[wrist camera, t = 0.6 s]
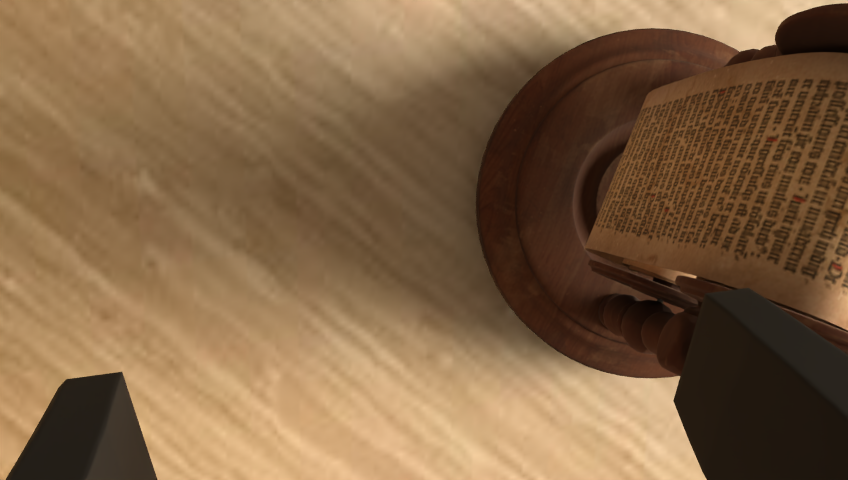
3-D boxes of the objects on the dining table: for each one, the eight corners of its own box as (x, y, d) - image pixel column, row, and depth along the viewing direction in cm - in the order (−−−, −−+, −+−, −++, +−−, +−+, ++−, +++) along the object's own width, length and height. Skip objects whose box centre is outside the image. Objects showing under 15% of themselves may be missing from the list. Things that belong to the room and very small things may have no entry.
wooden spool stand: (546, -9, 36) (723, -294, 16) (846, 114, 36) (1390, -9, 16) (424, 296, 36) (445, 398, 16) (722, 414, 36) (1106, 658, 16)
